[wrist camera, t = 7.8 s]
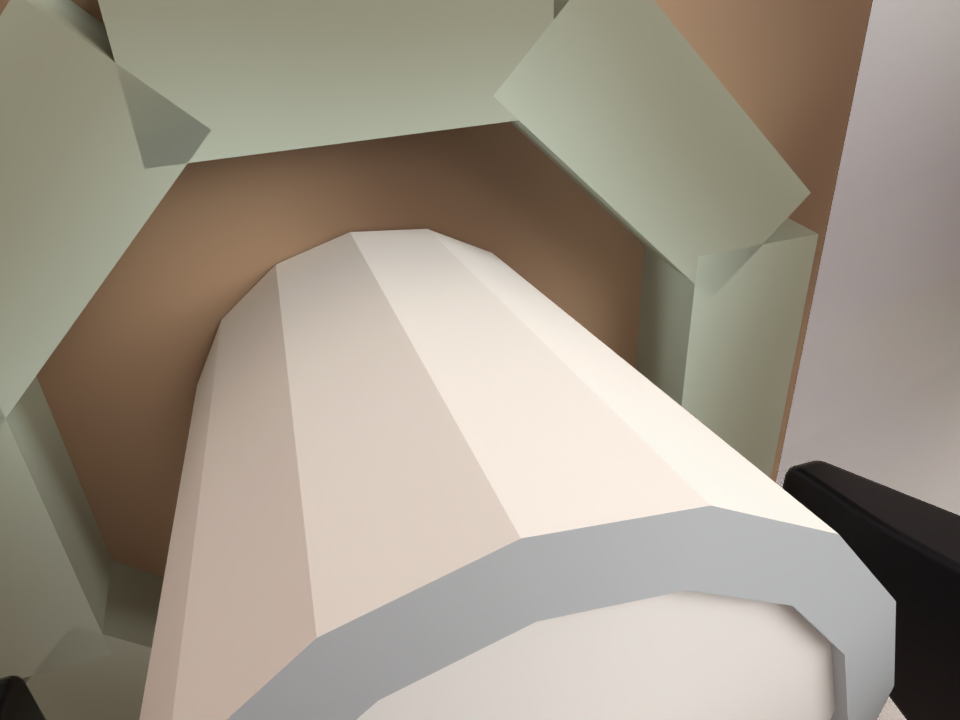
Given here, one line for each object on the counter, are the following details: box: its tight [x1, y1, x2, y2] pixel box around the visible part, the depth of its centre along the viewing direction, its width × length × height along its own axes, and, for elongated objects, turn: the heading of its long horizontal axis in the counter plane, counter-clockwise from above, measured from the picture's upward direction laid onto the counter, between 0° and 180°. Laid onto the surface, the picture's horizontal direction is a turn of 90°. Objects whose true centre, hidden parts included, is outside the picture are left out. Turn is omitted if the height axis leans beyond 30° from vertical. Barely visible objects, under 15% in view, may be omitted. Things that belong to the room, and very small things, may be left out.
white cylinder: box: [139, 229, 896, 720], centre depth 9 cm, size 7×7×7 cm
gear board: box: [0, 0, 873, 720], centre depth 14 cm, size 16×24×4 cm, turn 3°
